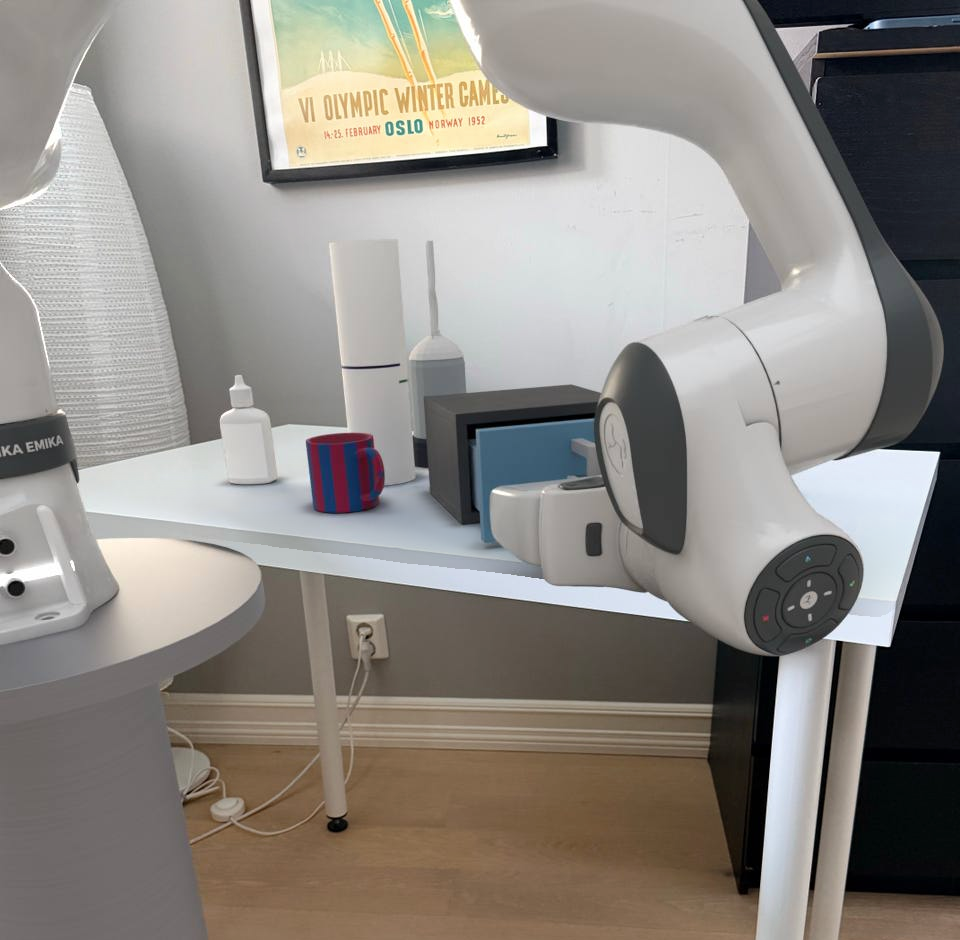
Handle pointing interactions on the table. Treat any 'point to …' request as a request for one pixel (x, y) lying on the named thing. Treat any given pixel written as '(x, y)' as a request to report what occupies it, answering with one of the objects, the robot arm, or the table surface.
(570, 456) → the drawer
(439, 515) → the table surface
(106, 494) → the table surface
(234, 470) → the eye dropper bottle
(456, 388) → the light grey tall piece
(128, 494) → the table surface
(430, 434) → the dark grey cabinet
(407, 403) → the cylindrical container
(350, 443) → the mug
